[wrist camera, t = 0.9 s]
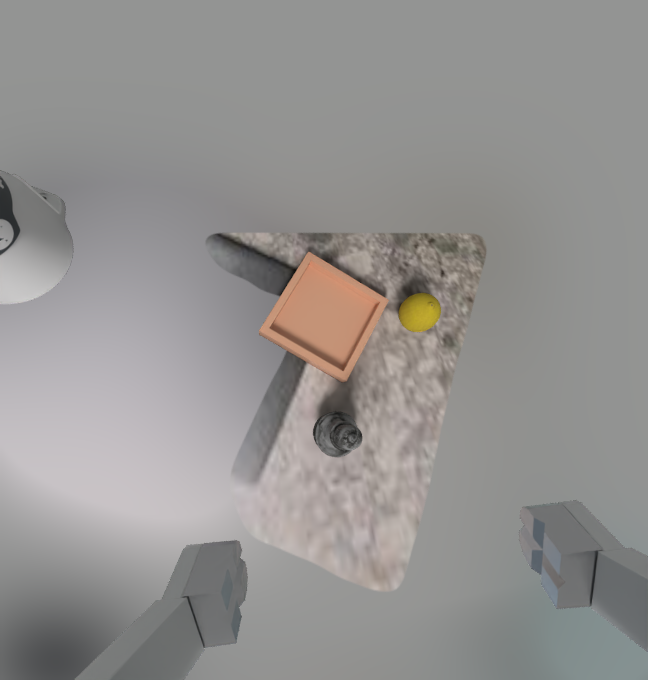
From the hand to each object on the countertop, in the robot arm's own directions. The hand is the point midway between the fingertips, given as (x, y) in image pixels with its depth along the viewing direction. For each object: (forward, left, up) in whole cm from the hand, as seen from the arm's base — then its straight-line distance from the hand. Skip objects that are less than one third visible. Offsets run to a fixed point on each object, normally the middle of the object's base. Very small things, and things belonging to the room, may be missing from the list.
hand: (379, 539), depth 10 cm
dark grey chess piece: (+6, +4, -41) cm, 41 cm away
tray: (-3, +18, -40) cm, 44 cm away
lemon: (+9, +25, -41) cm, 49 cm away
